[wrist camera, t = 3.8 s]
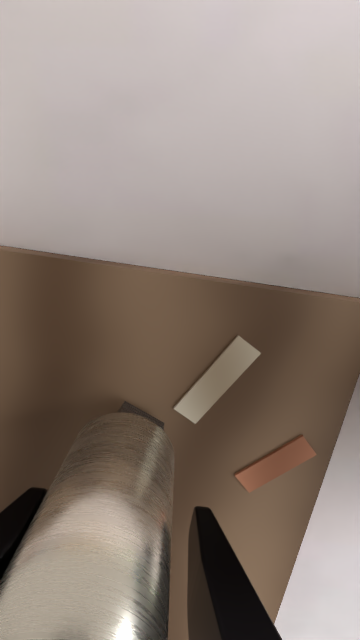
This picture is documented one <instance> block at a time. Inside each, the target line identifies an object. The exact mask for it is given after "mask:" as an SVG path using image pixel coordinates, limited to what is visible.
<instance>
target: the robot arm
mask: <svg viewBox="0 0 360 640" xmlns="http://www.w3.org/2000/svg"><path fill="white" fill-rule="evenodd" d="M46 493H47V489H45V488H38V487H31V488H29V489H28V490H26V491H25V492H24V493H23V494H22V495H20V496H19V497H18V498H17V499H16V500H14V501H13V502H12V503H11V504H10V505H8V506H7V507H6V508H5V509H4V510H2V511H1V512H0V579H1V578H2V576H3V574H4V572H5V570H6V568H7V566H8V565H9V563H10V561H11V559H12V557H13V555H14V553H15V551H16V550H17V548H18V546H19V544H20V542H21V540H22V538H23V536H24V535H25V533H26V531H27V529H28V527H29V525H30V523H31V521H32V520H33V518H34V516H35V514H36V512H37V510H38V508H39V506H40V505H41V503H42V501H43V499H44V497H45V495H46ZM187 618H188V636H189V640H282V638H281V637H280V635H279V633H278V631H277V629H276V627H275V626H274V624H273V622H272V620H271V618H270V616H269V615H268V613H267V611H266V609H265V607H264V605H263V604H262V602H261V600H260V598H259V596H258V594H257V593H256V591H255V589H254V587H253V585H252V583H251V582H250V580H249V578H248V576H247V574H246V572H245V571H244V569H243V567H242V565H241V563H240V561H239V560H238V558H237V556H236V554H235V552H234V550H233V549H232V547H231V545H230V543H229V541H228V539H227V538H226V536H225V534H224V532H223V530H222V528H221V527H220V525H219V523H218V521H217V519H216V517H215V516H214V514H213V512H212V510H211V509H210V508H209V507H202V506H196V507H195V508H194V510H193V514H192V519H191V524H190V528H189V536H188V584H187Z"/></svg>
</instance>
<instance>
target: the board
mask: <svg viewBox="0 0 360 640" xmlns="http://www.w3.org/2000/svg"><path fill="white" fill-rule="evenodd" d="M359 374H360V298H355V297H348V296H341V295H334V294H328V293H321V292H314V291H307V290H300V289H294V288H287V287H280V286H273V285H266V284H259V283H253V282H246V281H239V280H232V279H225V278H218V277H212V276H205V275H198V274H191V273H184V272H178V271H171V270H164V269H157V268H150V267H143V266H137V265H130V264H123V263H116V262H109V261H102V260H96V259H89V258H82V257H75V256H68V255H61V254H55V253H48V252H41V251H34V250H27V249H21V248H14V247H7V246H0V512H1V511H2V510H4V509H5V508H6V507H7V506H8V505H10V504H11V503H12V502H13V501H14V500H16V499H17V498H18V497H19V496H20V495H22V494H23V493H24V492H25V491H26V490H28V489H29V488H31V487H38V488H45V489H47V491H48V490H49V488H50V486H51V484H52V482H53V480H54V478H55V476H56V475H57V473H58V471H59V469H60V467H61V465H62V463H63V462H64V460H65V458H66V456H67V454H68V452H69V450H70V448H71V447H72V445H73V443H74V441H75V439H76V437H77V435H78V433H79V432H80V431H81V429H82V428H83V427H84V426H85V425H86V424H88V423H89V422H90V421H92V420H94V419H95V418H97V417H100V416H102V415H106V414H110V413H117V412H118V410H119V409H120V407H121V406H122V404H123V403H124V401H126V402H128V403H130V404H132V405H133V406H135V407H137V408H139V409H141V410H142V411H144V412H146V413H148V414H150V415H151V416H153V417H155V418H157V419H158V420H160V421H162V422H164V432H165V433H166V434H167V436H168V437H169V439H170V441H171V443H172V446H173V449H174V485H173V512H172V539H171V567H170V594H169V621H168V640H189V636H188V618H187V584H188V536H189V528H190V524H191V519H192V514H193V510H194V508H195V507H196V506H202V507H209V508H210V509H211V510H212V512H213V514H214V516H215V517H216V519H217V521H218V523H219V525H220V527H221V528H222V530H223V532H224V534H225V536H226V538H227V539H228V541H229V543H230V545H231V547H232V549H233V550H234V552H235V554H236V556H237V558H238V560H239V561H240V563H241V565H242V567H243V569H244V571H245V572H246V574H247V576H248V578H249V580H250V582H251V583H252V585H253V587H254V589H255V591H256V593H257V594H258V596H259V598H260V600H261V602H262V604H263V605H264V607H265V609H266V611H267V613H268V615H269V616H270V618H271V620H272V622H273V624H274V622H275V620H276V617H277V614H278V611H279V608H280V605H281V602H282V599H283V596H284V593H285V590H286V587H287V584H288V582H289V579H290V576H291V573H292V570H293V567H294V564H295V561H296V558H297V555H298V552H299V549H300V546H301V543H302V541H303V538H304V535H305V532H306V529H307V526H308V523H309V520H310V517H311V514H312V511H313V508H314V505H315V502H316V500H317V497H318V494H319V491H320V488H321V485H322V482H323V479H324V476H325V473H326V470H327V467H328V464H329V461H330V459H331V456H332V453H333V450H334V447H335V444H336V441H337V438H338V435H339V432H340V429H341V426H342V423H343V420H344V418H345V415H346V412H347V409H348V406H349V403H350V400H351V397H352V394H353V391H354V388H355V385H356V382H357V379H358V377H359Z"/></svg>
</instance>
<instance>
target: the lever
mask: <svg viewBox="0 0 360 640" xmlns="http://www.w3.org/2000/svg"><path fill="white" fill-rule="evenodd" d="M173 485H174V449H173V446H172V443H171V441H170V439H169V437H168V436H167V434H166V433H165V432H164V422H162V421H160V420H158V419H157V418H155V417H153V416H151V415H150V414H148V413H146V412H144V411H142V410H141V409H139V408H137V407H135V406H133V405H132V404H130V403H128V402H126V401H124V403H123V404H122V406H121V407H120V409H119V410H118V412H117V413H110V414H106V415H102V416H100V417H97V418H95V419H94V420H92V421H90V422H89V423H88V424H86V425H85V426H84V427H83V428H82V429H81V431H80V432H79V433H78V435H77V437H76V439H75V441H74V443H73V445H72V447H71V448H70V450H69V452H68V454H67V456H66V458H65V460H64V462H63V463H62V465H61V467H60V469H59V471H58V473H57V475H56V476H55V478H54V480H53V482H52V484H51V486H50V488H49V490H48V491H47V493H46V495H45V497H44V499H43V501H42V503H41V505H40V506H39V508H38V510H37V512H36V514H35V516H34V518H33V520H32V521H31V523H30V525H29V527H28V529H27V531H26V533H25V535H24V536H23V538H22V540H21V542H20V544H19V546H18V548H17V550H16V551H15V553H14V555H13V557H12V559H11V561H10V563H9V565H8V566H7V568H6V570H5V572H4V574H3V576H2V578H1V579H0V640H168V621H169V594H170V567H171V539H172V512H173Z"/></svg>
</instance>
